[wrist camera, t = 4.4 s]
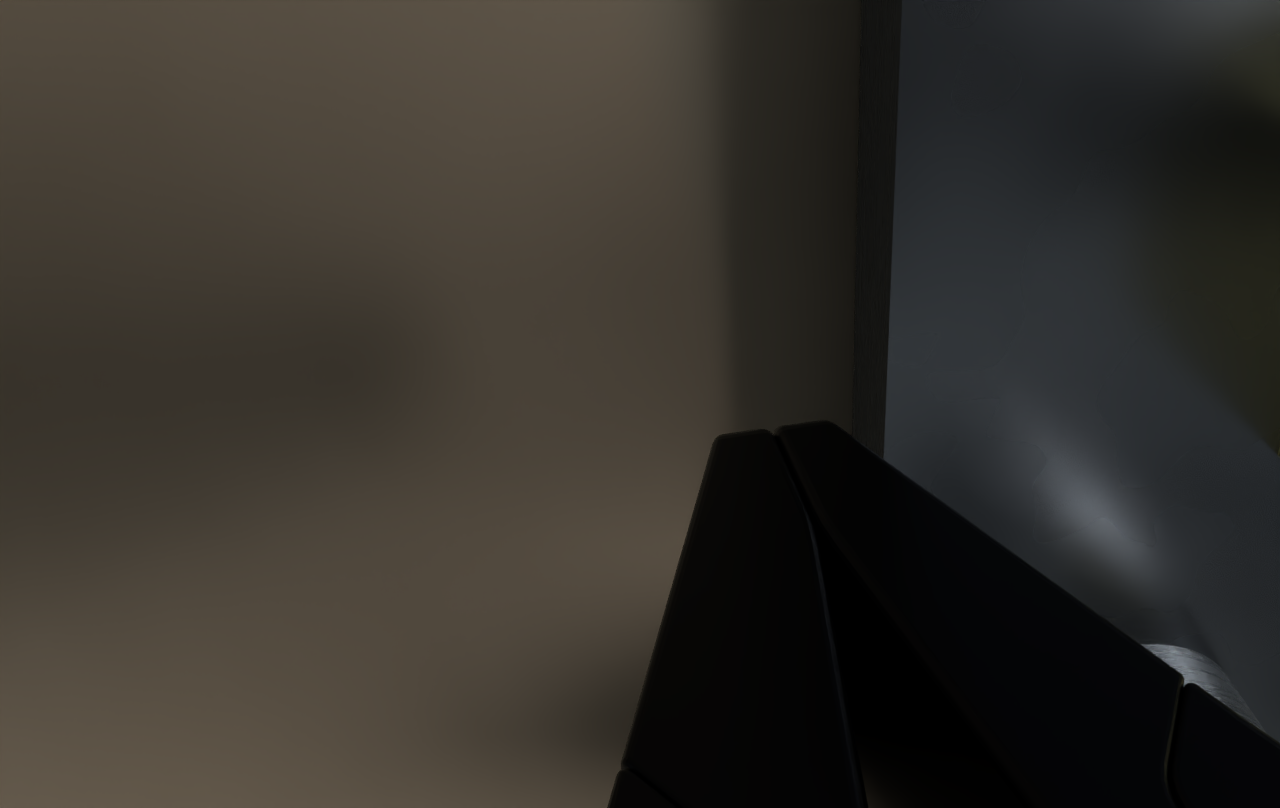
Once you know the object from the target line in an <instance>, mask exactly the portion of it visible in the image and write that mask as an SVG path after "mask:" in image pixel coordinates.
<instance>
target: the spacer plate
mask: <svg viewBox="0 0 1280 808" xmlns="http://www.w3.org/2000/svg"><path fill="white" fill-rule="evenodd" d="M852 437H854V438H855V439H856V440H858V441H859V442H861V443H862V444H863V445H865V446H866V447H867V448H869V449H870V450H872V451H873V452H874V453H876V454H877V455H879V456H880V457H881V458H883V459H884V460H886V461H887V462H888V463H890V464H891V465H892V466H894V467H895V468H897V469H898V470H899V471H901V472H902V473H904V474H905V475H906V476H908V477H909V478H910V479H912V480H913V481H915V482H916V483H917V484H919V485H920V486H922V487H923V488H924V489H926V490H927V491H929V492H930V493H931V494H933V495H934V496H935V497H937V498H938V499H940V500H941V501H942V502H944V503H945V504H947V505H948V506H949V507H951V508H952V509H953V510H955V511H956V512H958V513H959V514H960V515H962V516H963V517H965V518H966V519H967V520H969V521H970V522H972V523H973V524H974V525H976V526H977V527H978V528H980V529H981V530H983V531H984V532H985V533H987V534H988V535H990V536H991V537H992V538H994V539H995V540H996V541H998V542H999V543H1001V544H1002V545H1003V546H1005V547H1006V548H1008V549H1009V550H1010V551H1012V552H1013V553H1015V554H1016V555H1017V556H1019V557H1020V558H1021V559H1023V560H1024V561H1026V562H1027V563H1028V564H1030V565H1031V566H1033V567H1034V568H1035V569H1037V570H1038V571H1039V572H1041V573H1042V574H1044V575H1045V576H1046V577H1048V578H1049V579H1051V580H1052V581H1053V582H1055V583H1056V584H1058V585H1059V586H1060V587H1062V588H1063V589H1064V590H1066V591H1067V592H1069V593H1070V594H1071V595H1073V596H1074V597H1076V598H1077V599H1078V600H1080V601H1081V602H1082V603H1084V604H1085V605H1087V606H1088V607H1089V608H1091V609H1092V610H1094V611H1095V612H1096V613H1098V614H1099V615H1100V616H1102V617H1103V618H1105V619H1106V620H1107V621H1109V622H1110V623H1112V624H1113V625H1114V626H1116V627H1117V628H1119V629H1120V630H1121V631H1123V632H1124V633H1125V634H1127V635H1128V636H1130V637H1131V638H1132V639H1134V640H1135V641H1137V642H1138V643H1139V644H1141V645H1142V646H1143V647H1145V648H1146V649H1148V650H1149V651H1150V652H1152V653H1153V654H1155V655H1156V656H1157V657H1159V658H1160V659H1162V660H1163V661H1164V662H1166V663H1167V664H1168V665H1170V666H1171V667H1173V668H1174V669H1175V670H1177V671H1178V672H1180V673H1181V674H1182V675H1183V677H1184V686H1185V685H1186V684H1187V683H1195V684H1197V685H1198V686H1200V687H1201V688H1203V689H1204V690H1205V691H1207V692H1208V693H1209V694H1211V695H1212V696H1214V697H1215V698H1216V699H1218V700H1219V701H1221V702H1222V703H1223V704H1225V705H1226V706H1228V707H1229V708H1230V709H1232V710H1233V711H1234V712H1236V713H1237V714H1239V715H1240V716H1241V717H1243V718H1244V719H1246V720H1247V721H1249V722H1250V723H1252V724H1253V725H1254V726H1256V727H1257V728H1259V729H1260V730H1262V731H1263V732H1265V733H1266V734H1268V735H1269V736H1270V737H1272V738H1273V739H1275V740H1276V741H1278V742H1279V743H1280V458H1279V456H1278V451H1279V448H1280V0H861V45H860V93H859V140H858V188H857V236H856V283H855V331H854V379H853V426H852ZM1183 688H1184V687H1183Z"/></svg>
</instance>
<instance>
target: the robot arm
mask: <svg viewBox="0 0 1280 808" xmlns="http://www.w3.org/2000/svg"><path fill="white" fill-rule="evenodd" d="M1183 687H1184V688H1183ZM621 769H622V770H621V771H619V773H618V774H617V776H616V780H615V783H614V786H613V790H612V793H611V797H610V800H609V804H608V807H607V808H1280V743H1279V742H1278V741H1276V740H1275V739H1273V738H1272V737H1270V736H1269V735H1268V734H1266V733H1265V732H1263V731H1262V730H1260V729H1259V728H1257V727H1256V726H1254V725H1253V724H1252V723H1250V722H1249V721H1247V720H1246V719H1244V718H1243V717H1241V716H1240V715H1239V714H1237V713H1236V712H1234V711H1233V710H1232V709H1230V708H1229V707H1228V706H1226V705H1225V704H1223V703H1222V702H1221V701H1219V700H1218V699H1216V698H1215V697H1214V696H1212V695H1211V694H1209V693H1208V692H1207V691H1205V690H1204V689H1203V688H1201V687H1200V686H1198V685H1197V684H1195V683H1187V684H1186V685H1185V686H1184V677H1183V675H1182V674H1181V673H1180V672H1178V671H1177V670H1175V669H1174V668H1173V667H1171V666H1170V665H1168V664H1167V663H1166V662H1164V661H1163V660H1162V659H1160V658H1159V657H1157V656H1156V655H1155V654H1153V653H1152V652H1150V651H1149V650H1148V649H1146V648H1145V647H1143V646H1142V645H1141V644H1139V643H1138V642H1137V641H1135V640H1134V639H1132V638H1131V637H1130V636H1128V635H1127V634H1125V633H1124V632H1123V631H1121V630H1120V629H1119V628H1117V627H1116V626H1114V625H1113V624H1112V623H1110V622H1109V621H1107V620H1106V619H1105V618H1103V617H1102V616H1100V615H1099V614H1098V613H1096V612H1095V611H1094V610H1092V609H1091V608H1089V607H1088V606H1087V605H1085V604H1084V603H1082V602H1081V601H1080V600H1078V599H1077V598H1076V597H1074V596H1073V595H1071V594H1070V593H1069V592H1067V591H1066V590H1064V589H1063V588H1062V587H1060V586H1059V585H1058V584H1056V583H1055V582H1053V581H1052V580H1051V579H1049V578H1048V577H1046V576H1045V575H1044V574H1042V573H1041V572H1039V571H1038V570H1037V569H1035V568H1034V567H1033V566H1031V565H1030V564H1028V563H1027V562H1026V561H1024V560H1023V559H1021V558H1020V557H1019V556H1017V555H1016V554H1015V553H1013V552H1012V551H1010V550H1009V549H1008V548H1006V547H1005V546H1003V545H1002V544H1001V543H999V542H998V541H996V540H995V539H994V538H992V537H991V536H990V535H988V534H987V533H985V532H984V531H983V530H981V529H980V528H978V527H977V526H976V525H974V524H973V523H972V522H970V521H969V520H967V519H966V518H965V517H963V516H962V515H960V514H959V513H958V512H956V511H955V510H953V509H952V508H951V507H949V506H948V505H947V504H945V503H944V502H942V501H941V500H940V499H938V498H937V497H935V496H934V495H933V494H931V493H930V492H929V491H927V490H926V489H924V488H923V487H922V486H920V485H919V484H917V483H916V482H915V481H913V480H912V479H910V478H909V477H908V476H906V475H905V474H904V473H902V472H901V471H899V470H898V469H897V468H895V467H894V466H892V465H891V464H890V463H888V462H887V461H886V460H884V459H883V458H881V457H880V456H879V455H877V454H876V453H874V452H873V451H872V450H870V449H869V448H867V447H866V446H865V445H863V444H862V443H861V442H859V441H858V440H856V439H855V438H854V437H852V436H851V435H849V434H848V433H847V432H845V431H844V430H843V429H841V428H840V427H838V426H837V425H836V424H834V423H832V422H829V421H826V420H820V421H813V422H806V423H799V424H792V425H785V426H781V427H778V428H777V429H776V430H775V432H774V434H772V433H771V432H770V431H768V430H765V429H757V430H750V431H743V432H736V433H729V434H722V435H719V436H718V437H717V438H716V439H715V440H714V442H713V445H712V448H711V451H710V455H709V458H708V462H707V465H706V469H705V472H704V476H703V479H702V483H701V486H700V490H699V493H698V497H697V500H696V504H695V507H694V511H693V514H692V517H691V521H690V524H689V528H688V531H687V535H686V538H685V542H684V545H683V549H682V552H681V556H680V559H679V563H678V566H677V570H676V573H675V577H674V580H673V584H672V587H671V591H670V594H669V598H668V601H667V605H666V608H665V611H664V615H663V618H662V622H661V625H660V629H659V632H658V636H657V639H656V643H655V646H654V650H653V653H652V657H651V660H650V664H649V667H648V671H647V674H646V678H645V681H644V685H643V688H642V692H641V695H640V699H639V702H638V705H637V709H636V712H635V716H634V719H633V723H632V726H631V730H630V733H629V737H628V740H627V744H626V747H625V751H624V754H623V758H622V761H621Z"/></svg>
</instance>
